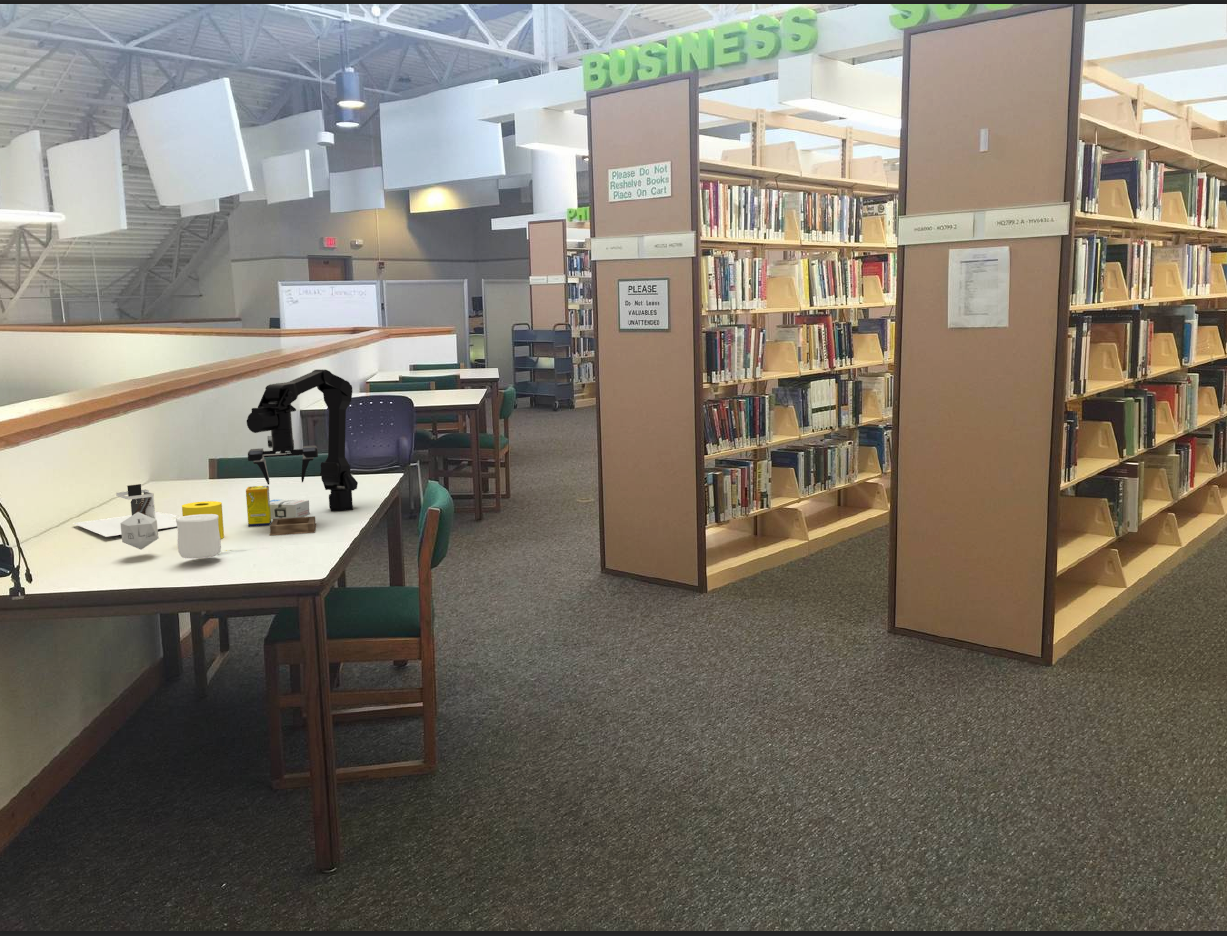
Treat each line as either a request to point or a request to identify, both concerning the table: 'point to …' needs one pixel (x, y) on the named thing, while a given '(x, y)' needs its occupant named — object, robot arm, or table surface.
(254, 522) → the supplement box
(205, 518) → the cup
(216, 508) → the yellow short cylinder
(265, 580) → the table surface
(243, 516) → the table surface
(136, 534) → the die
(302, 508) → the ink box
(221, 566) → the table surface
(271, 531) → the base
